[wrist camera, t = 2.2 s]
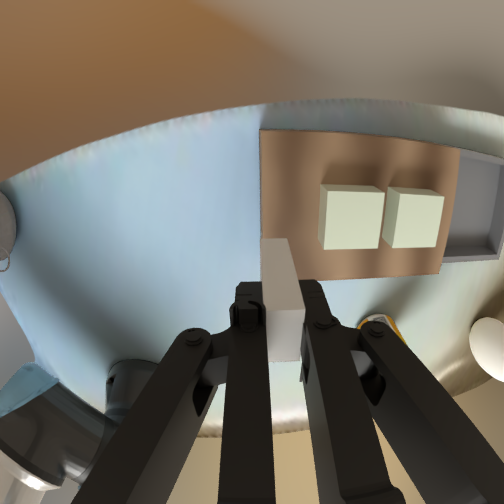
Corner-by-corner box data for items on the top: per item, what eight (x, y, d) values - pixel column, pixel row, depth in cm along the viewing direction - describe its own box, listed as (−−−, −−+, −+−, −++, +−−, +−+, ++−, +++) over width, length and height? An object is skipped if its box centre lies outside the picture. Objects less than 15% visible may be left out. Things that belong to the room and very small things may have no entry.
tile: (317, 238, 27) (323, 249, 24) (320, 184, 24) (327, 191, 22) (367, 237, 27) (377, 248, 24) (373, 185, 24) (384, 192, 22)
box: (415, 251, 34) (428, 263, 31) (430, 142, 28) (446, 145, 25) (485, 249, 34) (498, 259, 31) (501, 157, 28) (517, 163, 25)
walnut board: (260, 255, 34) (263, 282, 29) (258, 129, 28) (261, 131, 23) (415, 251, 34) (438, 273, 28) (430, 142, 28) (460, 149, 23)
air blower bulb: (497, 310, 39) (549, 372, 23) (474, 343, 42) (518, 408, 26) (477, 302, 38) (536, 372, 22) (453, 338, 41) (500, 412, 25)
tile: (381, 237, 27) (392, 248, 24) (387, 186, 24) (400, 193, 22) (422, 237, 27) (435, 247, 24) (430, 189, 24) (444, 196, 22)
